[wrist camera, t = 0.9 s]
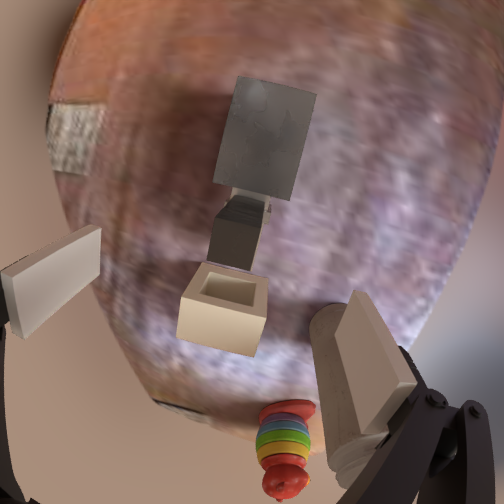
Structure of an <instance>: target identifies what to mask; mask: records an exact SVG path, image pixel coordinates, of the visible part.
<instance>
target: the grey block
mask: <svg viewBox="0 0 504 504" xmlns="http://www.w3.org/2000/svg"><path fill="white" fill-rule="evenodd" d="M316 96H317V94H315V93H311V92H308V91H304V90H300V89H297V88H293V87H289V86H285V85H281V84H276V83H272V82H267V81H263V80H258V79H253V78H248V77H242V76H238V78H237V82H236V86H235V90H234V93H233V97H232V101H231V105H230V109H229V113H228V117H227V121H226V125H225V129H224V133H223V138H222V142H221V146H220V150H219V155H218V159H217V164H216V168H215V173H214V177H213V183H217V184H222V185H226V186H231V187H235V188H239V189H243V190H248V191H252V192H256V193H260V194H264V195H268V196H272V197H276V198H280V199H284V200H287V201H290V197H291V193H292V190H293V186H294V182H295V178H296V175H297V171H298V167H299V163H300V159H301V155H302V152H303V148H304V144H305V140H306V136H307V132H308V128H309V124H310V120H311V116H312V112H313V108H314V104H315V100H316Z"/></svg>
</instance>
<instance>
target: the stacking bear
mask: <svg viewBox="0 0 504 504" xmlns="http://www.w3.org/2000/svg"><path fill="white" fill-rule="evenodd" d="M315 408H316V405H315V404H313V402H311V401H307V400H291V401H284V402H279V403H275V404H272V405H270V406H267V407H266V408H264V409H263V410H262V411H261V412H260V414H259V423H260V428H259V431H258V434H257V437H256V452H257V458H258V462H259V464H260V465H261V466H262V468H263V469H264V470H265V471H266V473H265V475H264V477H263V482H262V487H263V490H264V492H265V493H266V494H267V495H269V496H270V497H273V498H276V500H277V501H278V502H282V500H283V499H289V498H293V497H295V496H296V495H298V493H299V492H300V491H301V490H302V489H303V488H304V487H305V486H307V485H308V484H309V482H310V477H309V475H308V473H307V472H305V470H304V469H303V468H304V467H305V466H306V462H307V459H308V455H309V451H310V436H309V432H308V425H307V423H306V422H307V420H308V419H309V418H310V417H311V416H312V415H313V414H314V413H315Z"/></svg>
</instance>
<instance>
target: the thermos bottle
mask: <svg viewBox="0 0 504 504" xmlns="http://www.w3.org/2000/svg"><path fill="white" fill-rule="evenodd" d="M347 305H348V304H344V303H336V304H331V305H328V306H326V307H324V308H322V309H321V310H319V311H318V312H317V313H316V314H315V315H314V317H313V318H312V320H311V322H310V325H309V334H310V341H311V346H312V352H313V359H314V365H315V372H316V378H317V385H318V392H319V399H320V406H321V413H322V421H323V428H324V436H325V444H326V453H327V462H328V466H329V468H330V469H331V470H332V471H334V472H336V480H337V481H338V484H339V486H340V487H342V488H344V489H347V490H348V489H349V487H350V486H351V485H352V484H353V482H354V481H355V480H356V478H357V477H358V476H359V474H360V473H361V471H362V470H363V469H364V467H365V466H366V464H367V463H368V462H369V460H370V459H371V457H372V456H373V454H374V453H375V451H376V449H375V447H376V446H377V445H378V444H379V443H380V442H381V441H382V440H383V438H384V437H385V436H386V435H387V434H388V433H389V429H388V426H387V425H386V426H385V427H384V428H383V429H382V430H381V432H380V433H379V434H361V431H360V427H359V423H358V419H357V415H356V411H355V407H354V403H353V399H352V395H351V391H350V388H349V384H348V380H347V377H346V373H345V369H344V366H343V362H342V359H341V355H340V352H339V348H338V345H337V342H336V338H335V333H336V330H337V328H338V326H339V324H340V321H341V319H342V317H343V314H344V312H345V310H346V307H347Z"/></svg>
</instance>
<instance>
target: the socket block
mask: <svg viewBox="0 0 504 504" xmlns="http://www.w3.org/2000/svg"><path fill="white" fill-rule="evenodd" d="M267 299H268V278H264V277H260V276H256V275H251V274H247V273H243V272H239V271H235V270H231V269H227V268H223V267H219V266H215V265H211V264H208V263H204V262H202V263H201V265H200V267H199V268H198V270H197V272H196V273H195V275H194V276H193V278H192V280H191V281H190V283H189V285H188V286H187V288H186V290H185V291H184V293H183V295H182V296H181V302H180V310H179V318H178V325H177V334H176V338H179V339H183V340H186V341H190V342H193V343H197V344H201V345H204V346H208V347H212V348H216V349H220V350H224V351H228V352H232V353H236V354H241V355H245V356H250V357H254V356H255V353H256V350H257V347H258V343H259V340H260V337H261V334H262V331H263V328H264V325H265V322H266V318H267Z"/></svg>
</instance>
